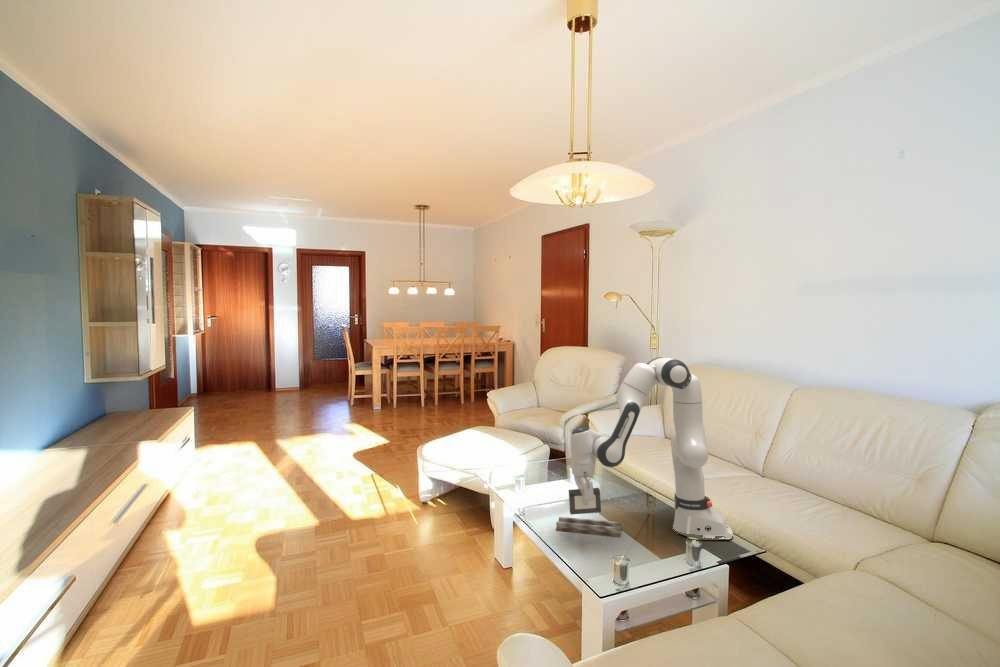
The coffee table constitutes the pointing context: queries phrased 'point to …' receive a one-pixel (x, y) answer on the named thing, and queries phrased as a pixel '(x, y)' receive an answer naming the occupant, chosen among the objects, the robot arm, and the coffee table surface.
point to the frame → (577, 502)
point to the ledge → (589, 526)
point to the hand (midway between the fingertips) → (584, 503)
